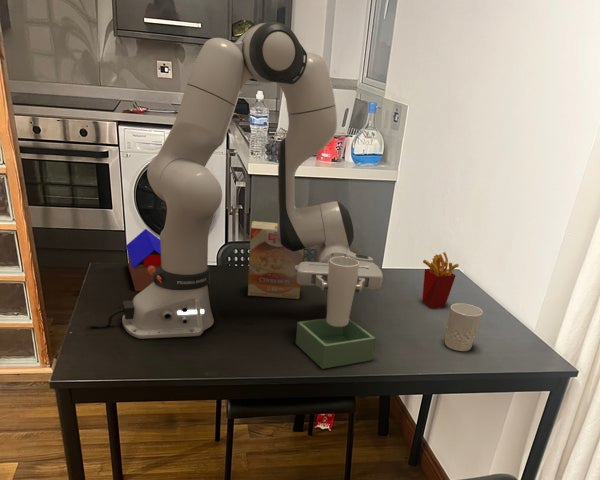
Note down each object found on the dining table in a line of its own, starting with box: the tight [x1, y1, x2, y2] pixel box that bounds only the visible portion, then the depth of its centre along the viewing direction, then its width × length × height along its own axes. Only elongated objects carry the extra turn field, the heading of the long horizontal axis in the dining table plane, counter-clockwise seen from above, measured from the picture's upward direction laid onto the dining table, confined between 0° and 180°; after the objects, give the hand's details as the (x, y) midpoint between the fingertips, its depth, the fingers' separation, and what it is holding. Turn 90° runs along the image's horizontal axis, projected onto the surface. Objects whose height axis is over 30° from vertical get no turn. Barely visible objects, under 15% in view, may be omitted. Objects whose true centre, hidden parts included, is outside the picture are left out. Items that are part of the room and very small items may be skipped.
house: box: [125, 228, 161, 292], centre depth 173 cm, size 12×20×12 cm, turn 19°
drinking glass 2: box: [325, 256, 359, 327], centre depth 137 cm, size 7×7×15 cm
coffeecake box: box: [247, 220, 305, 300], centre depth 169 cm, size 15×7×20 cm, turn 91°
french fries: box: [421, 251, 460, 309], centre depth 173 cm, size 9×8×15 cm
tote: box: [295, 317, 377, 370], centre depth 143 cm, size 14×14×6 cm
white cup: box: [444, 302, 484, 352], centre depth 151 cm, size 8×8×10 cm
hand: (342, 288), depth 135 cm, fingers closed on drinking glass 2, 6 cm apart
